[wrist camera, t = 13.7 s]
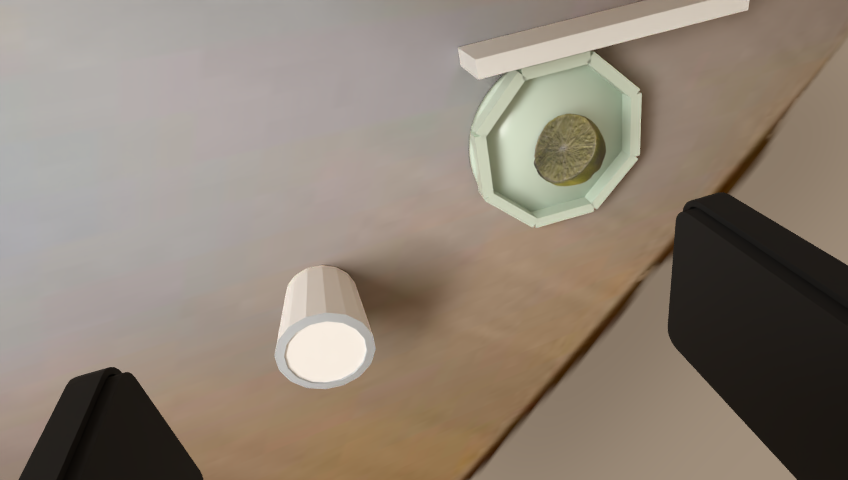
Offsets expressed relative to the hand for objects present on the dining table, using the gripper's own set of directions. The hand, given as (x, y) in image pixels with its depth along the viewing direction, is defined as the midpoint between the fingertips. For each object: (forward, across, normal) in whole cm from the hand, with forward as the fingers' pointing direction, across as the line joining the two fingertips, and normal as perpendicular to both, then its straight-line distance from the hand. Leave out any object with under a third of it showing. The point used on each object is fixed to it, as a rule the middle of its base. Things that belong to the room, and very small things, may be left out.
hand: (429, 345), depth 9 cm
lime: (+28, -14, +10) cm, 33 cm away
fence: (+28, -17, +2) cm, 33 cm away
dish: (+28, -14, +10) cm, 33 cm away
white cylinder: (+28, +6, +18) cm, 34 cm away
